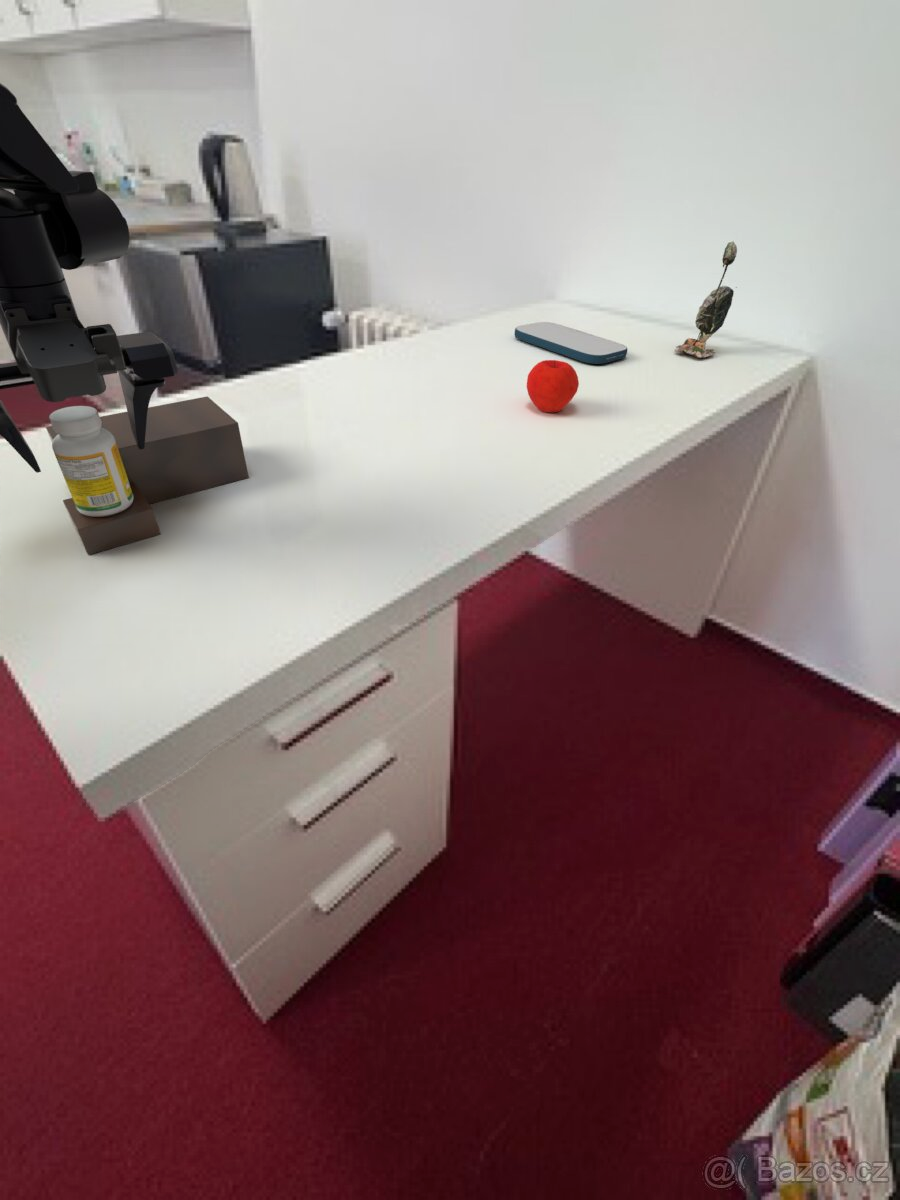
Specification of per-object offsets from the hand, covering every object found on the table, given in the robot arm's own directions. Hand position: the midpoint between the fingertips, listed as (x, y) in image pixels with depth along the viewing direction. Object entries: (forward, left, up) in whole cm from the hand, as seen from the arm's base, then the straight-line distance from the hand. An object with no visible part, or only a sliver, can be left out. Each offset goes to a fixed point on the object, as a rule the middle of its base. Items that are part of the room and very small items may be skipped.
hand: (91, 458), depth 58 cm
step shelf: (+6, +5, -8) cm, 11 cm away
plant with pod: (+112, +6, -8) cm, 112 cm away
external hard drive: (+91, +22, -8) cm, 94 cm away
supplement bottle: (0, 0, -5) cm, 5 cm away
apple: (+64, 0, -8) cm, 64 cm away
